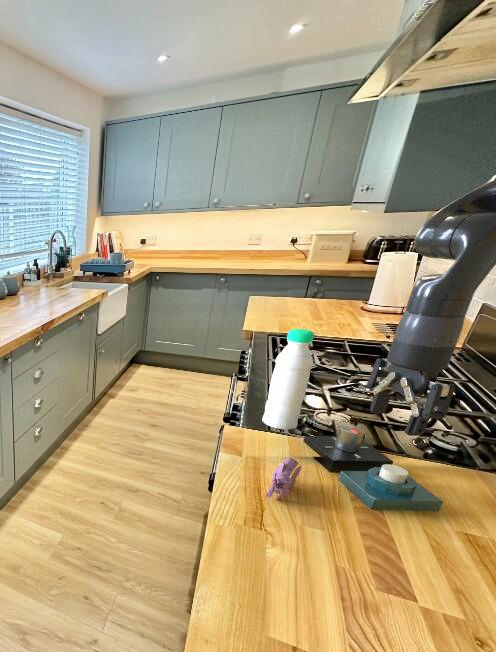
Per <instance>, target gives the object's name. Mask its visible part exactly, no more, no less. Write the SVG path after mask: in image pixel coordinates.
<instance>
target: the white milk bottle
mask: <svg viewBox="0 0 496 652" xmlns="http://www.w3.org/2000/svg"><path fill="white" fill-rule="evenodd" d="M314 338H315V333H314V332H313V331H311V330H309V329H303V328H293V329H290V330H289V331H288V332H287V335H286V340H287V341H286V342H287V345H286V346H285V347H283V350H282V351H281V352H280V353H278V355H277V356H276V358H275V366H274V368H273V372H272V377H271V380H270V384H269V388H268V389H269V390H268V399H267V401H266V402H265V407H264V413H263V416H262V422H263V423H264V424H265V425H267V426H269V427H271V428H275V429H277V430H294V429H296V428H298V423H299V422H298V421H299V417H300V415H301V411H302V404H303V402H304V398H305V395H306V393H307V389H308V384H309V380H310V375H311V369H313V366H314V359H313V355H312V353H311V350H310V347H309V346H310V345H311V344H312V342H313V341H314Z"/></svg>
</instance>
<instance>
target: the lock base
mask: <svg viewBox="0 0 496 652" xmlns="http://www.w3.org/2000/svg"><path fill="white" fill-rule="evenodd" d="M336 438H337V435H335V436H334V435H304V437H303V440H302V442H303V443H304V444H306V446H308V447H309V448H310V449H311V450H312V451H313V452H315V453H316V454H317V456H312V458H313V459H314V460H315V461H316V462H317V463H319V464H320V465H321V467H323V468H324V469H325V470H326V471H327V472H329V473H333V474H335V473H336V474H338V473H339V474H340V472H341V471H368V470H369V469H371V468H374V467H382V465H385V464H390V465H394V460H392V459H391V458H389V457H388V456H387V455H385V454H384V453H383V452H381V451H380V450H378V449H376V448H375V447H374V446H372V445H371V444H370V443H368V442H367V441H365V440H364V439H363V440H362V443H361V446H360V449H359V451H358V452H354V453H352V452H346V451H342V450H340V449H338V448H336V447H335V442H336Z"/></svg>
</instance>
